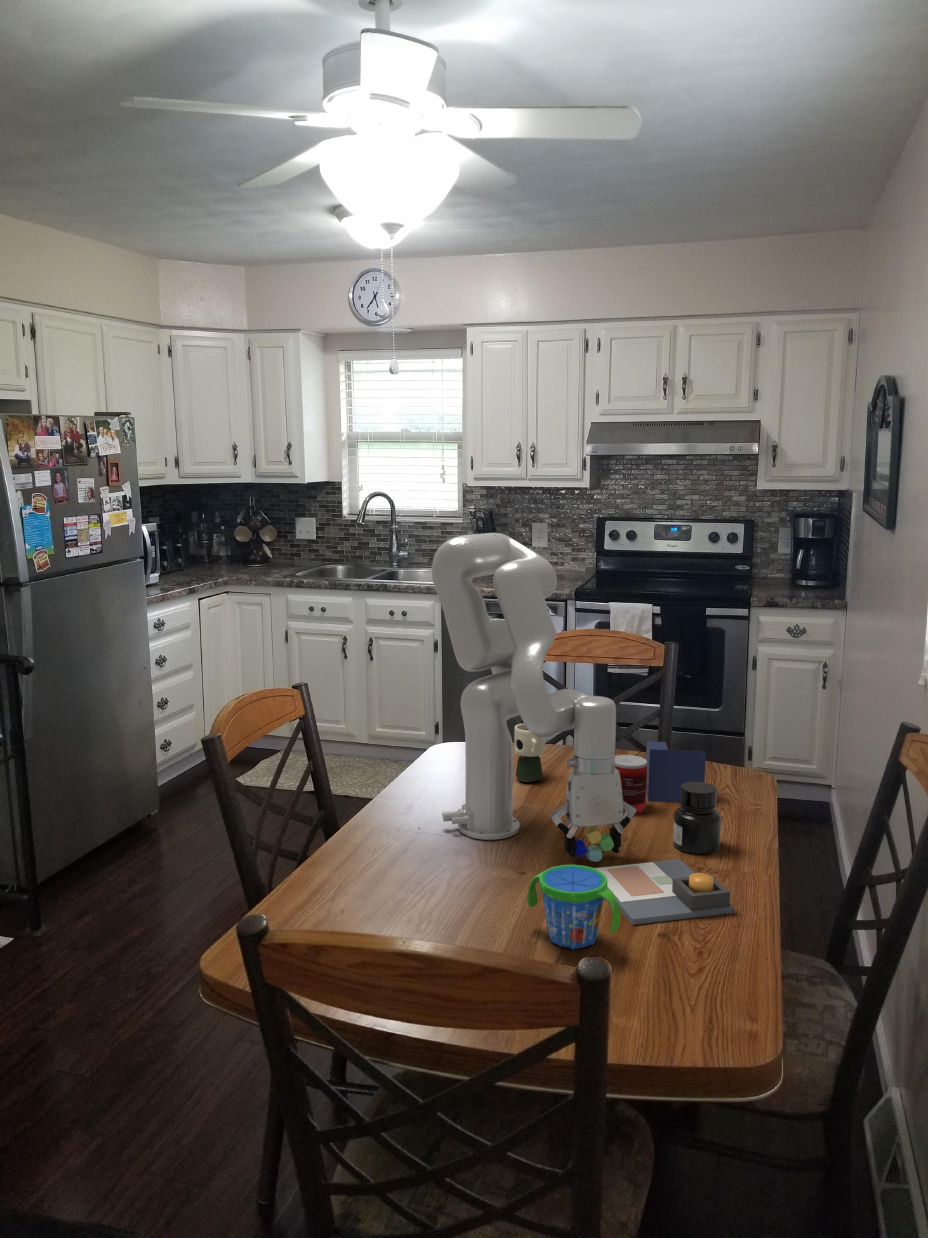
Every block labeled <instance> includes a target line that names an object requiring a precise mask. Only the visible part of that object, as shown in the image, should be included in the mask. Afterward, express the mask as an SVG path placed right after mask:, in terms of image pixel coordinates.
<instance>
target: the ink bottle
mask: <svg viewBox="0 0 928 1238" xmlns="http://www.w3.org/2000/svg"><path fill="white" fill-rule="evenodd" d="M717 795H718V789H717V787H716V786H715V785H713V784H712V783H707V782H686V783H684V784H682V785H681V789H680V803H679V804H680V806H679V807H678V808H676V810H674V814H673V830H672V831H673V837H672V840H673V841H672V843H673V845H674V847H675V848H677V849H678V850H679V851H683V852H685V853H691V854H697V855H709V854H713V853H715V852H717V851H719V849H720V848H721V847H720V846H721V828H722V817H721V814H720V813H719V812H718V810H717V809H716V807H717Z"/></svg>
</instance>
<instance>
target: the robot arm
mask: <svg viewBox="0 0 928 1238" xmlns="http://www.w3.org/2000/svg"><path fill="white" fill-rule="evenodd" d="M556 572H557V571H555V569H554V566H553V565H552V564H551V563H550V562H549V561H548V560H547V559H546V558H545V557H544V556H541V554H539V553H537V552H536V551H533V550H532V549H530V548H528V547H527V546H525V545H524V544H522V543H520V542H519V541H517V540H515V539H513V538H512V537H510V536H508V535H507V534H506V535H505V534H504V533H500V532H499V533H498V532H488V533H487V532H485V533H471V534H465V535H464V534H463V535H458V536H455V537H452V538H449V539H448V540H446V541H445V542H443V543H442V544H441V545H440V547H439V548H437V550H436V551H435V554H434V556H433V559H432V564H431V577H432V583H433V586H434V589H435V592H436V594H437V596H438V599H439V602H440V604H441V607H442V612H443V614H444V619H445V624H446V627H447V630H448V634H449V638H450V641H451V645H452V648H453V653H454V655H455V658H456V661H457V663H458V666H459V667H460V668H462V670H464V671H466V672H481V671H486V670H489V669H490V670H491V673H492V674H489V675H486V676H483V677H480V678H477V679H475V680H473V681H472V682H470V683H468V684H467V686H466V687H465V688H464V690H463V691H462V693H461V697H460V710H461V711H460V712H461V716H462V719H463V720H462V721H463V726H464V738H465V740H464V741H465V742H464V743H465V747H464V748H465V750H464V751H465V752H464V753H465V804H461V808H460V809H457V811H451V810H450V811H443V812H442V815H441V817H442V822H450V823H451V825H457V829H459V830H458V831H459V832H460V833H461V832H462V833H463V835H464V834H465V835H464V836H466V835H467V836H466V837H468V836H469V837H468V838H471V837H472V838H473V839H476V840H486V841H490V840H491V841H494V840H503V839H507V838H510V837H511V838H512V836H515V835H516V834H518V833H519V831H520V830H521V823H520V821H519V820H518V819H517V818H515V817H514V816H513V782H514V781H513V778H514V777H513V774H514V773H513V769H514V767H513V765H514V762H513V761H514V760H513V759H514V757H513V753H514V750H513V749H514V746H513V740H512V736H511V733H510V730H509V728H508V724H507V721H509V720H511V719H512V718H515V717H518V716H520V718H521V720H522V722H523V723H524V724H525V726H526V727H527V729H528V730H529V731H530V732H531V733H532V734H534V735H536V736H538V737H545V738H549V737H553V736H555V735H558V734H560V733H562V732H564V731H569V730H573V729H574V735H573V736H574V737H573V738H574V740H573V750H574V752H573V754H572V758H570V759H566V765H567V767H571V769H570V773H569V777H568V782H567V786H566V795H565V802H564V803H562V805H561V806H559V807H558V808H556V809H555V810H554V811H553V812H551V813H550V814H549V818H550V819H551V821H553V823H554V824H555V827H556V828H557V829H558V830H559V831H560V832H561V833H563V834H564V847H563V849H564V852H565V853H566V854H567V855H568V856H569V857H570V859H575V858H576V857H577V856H576V840H577V838H576V837H575V836H574V835H575V833H576V832H577V831H578V829H579V828H588V827H593V826H596V827H601V826H602V827H603V826H609V825H610V826H611V827H610V828H609V835H610V836H611V838H612V840H613V843H614V847H613V848H612V849H611V850H610V851H612V852H613V853H614V854H616V855H617V854H619V853H620V848H621V846H622V834H623V833H624V831H625V828H626V827H627V826H628V825H629V824H630V823H631V820H632V818H633V817H634V816H635V815H634V814H635V812H636V809H635V808H634V807H633V806H631V805H630V804H628V803H626V802H625V801H623V796H622V786H621V779H620V773H619V771H618V770H617V769H615V756H616V727H617V726H616V725H617V707H616V703H615V701H614V700H613V699H611V698H609V697H605V696H600V695H599V696H598V695H589V694H587V693H584V692H582V691H579V690H576V689H573V688H563V689H559V690H556V691H553V692H550V693H548V689H547V687H546V683H545V679H544V670H543V669H544V660H545V658H546V655H547V653H548V651H549V649H550V648H551V646H552V644H553V642H554V641H555V639H556V637H557V629H556V627H555V625H554V622H553V619H552V617H551V614H550V611H549V607H548V605H547V602H546V599H547V598H549V597H551V596H552V595H553V594H554V592H555V591H556V589H557V586H558V577H557V576H558V575H557V573H556ZM492 575H493V577H492V585H493V589H494V592H495V597H496V598H497V601H498V604H499V606H500V610H501V612H502V615H503V618H504V619H503V618H501V619H499V618H497V619H490V615H489V613H488V611H487V610H488V609H487V607H486V602H485V600H484V597H483V595H482V593H481V592H480V590H479V589H478V588H477V587H476V586H475V584H474V583H473V581H472V580H473V579H474V578H479V577H485V576H492ZM623 809H625V814H623ZM563 816H565V818H566V819H567V821H565V822H566V823H565V824H564V823H563V822H562V820H561V818H562V817H563ZM462 833H461V834H462Z"/></svg>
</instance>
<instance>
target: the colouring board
mask: <svg viewBox="0 0 928 1238" xmlns="http://www.w3.org/2000/svg"><path fill="white" fill-rule="evenodd" d="M593 868H594V869H596V870H598V871H600V872H602V873H603V874H604V875H605V876H606V878H607V886H608V888H609V889H610V890H611V891H612V892H613V893H614V895H615V897H616V899H617V901H618V905H619V909H620V913H621V914H623V916H624V917H625V918H626V919H627V920H628V922H629V923H630V924H631V925H632V926H635V925H645V924H651V923H660V922H670V921H679V920H686V919H693V918H694V919H695V918H701V917H703V918H705V917H710V916H718V915H727V914H734V913H735V907H734V906H733V905H732V904H731V891H730V890H729V889H728V888H726V887H725V886H724V885H723V884H722V883H720V882H719V881H718V880H717V879H716V878H715V877H713V878H714V883H713V891H710V892H701V893H694V892H693V891H691V890H690V889H689V876H690V875H691V874H693V873H696V872H695V871H694V870H692V869H691V868H690V867H689V866H688V865H687V864H686V863H684V861H682V860H681V858H677V859H675V858H674V859H669V860H667V859H666V860H659V861H656V860H655V861H649V862H639V863H628V864H621V865H609V866H600V867H593ZM709 875H710V876H712V875H711V874H709Z"/></svg>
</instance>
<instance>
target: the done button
mask: <svg viewBox="0 0 928 1238" xmlns="http://www.w3.org/2000/svg"><path fill="white" fill-rule="evenodd" d="M710 875H711V874H707V873H703V872H695V873H693V874H691V875H690V876H689V889H690V890H691V891H693V892H694V893H701V892H710V891H713V883H714V878H715V877H714V876H713V875H711V876H710Z"/></svg>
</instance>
